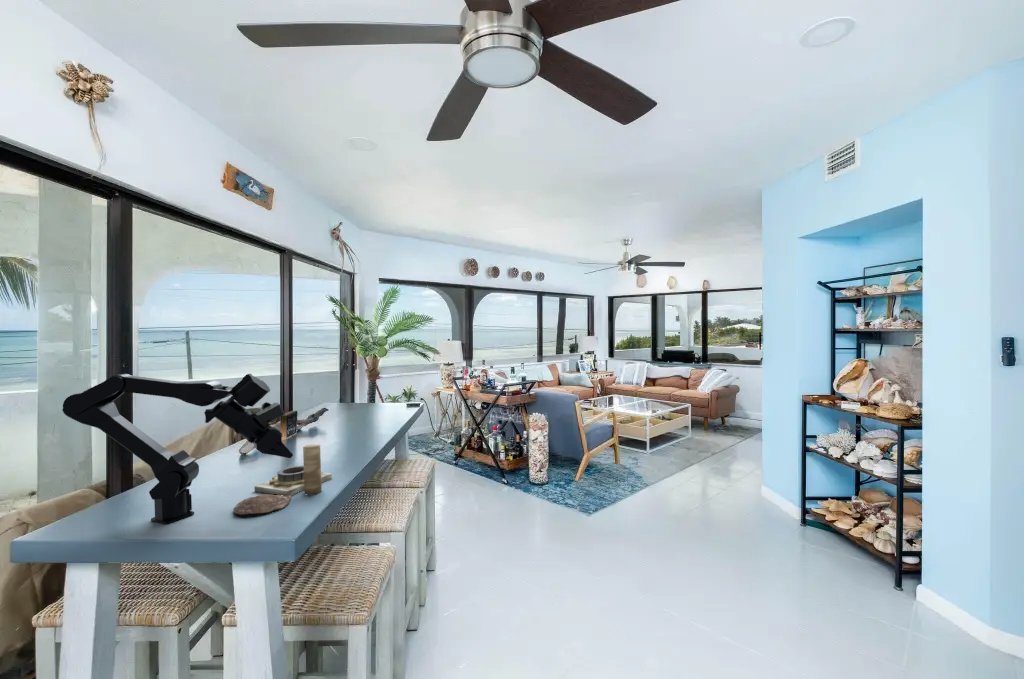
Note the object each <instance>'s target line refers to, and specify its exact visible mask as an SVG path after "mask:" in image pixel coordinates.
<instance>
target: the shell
mask: <svg viewBox="0 0 1024 679" xmlns="http://www.w3.org/2000/svg"><path fill="white" fill-rule="evenodd" d="M291 499H292V495H291V496H281V495H274V494H268V493H263V494H258V495H255V496H251V497H248V498H244V499H243V500H241V501H239V502H238V503H236V505H235V506H234V508H233V514H234V515H235V516H236V517H238V518H246V517H257V516H266V515H267V514H268V515H270V513H271V514H273V513H276V511H277V512H279V510H280V511H281V510H283V509H285V508H286V507H288V506H289V504H290V502H289V501H291ZM285 506H286V507H285ZM272 512H273V513H272ZM268 515H267V516H268Z"/></svg>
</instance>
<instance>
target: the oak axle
mask: <svg viewBox="0 0 1024 679" xmlns="http://www.w3.org/2000/svg"><path fill="white" fill-rule="evenodd" d="M302 452H303V453H302V454H303V456H302V457H303V466H304V490H303V492H304V495H305V494H308V495H307V496H311V495H310V494H314V495H317V493H318V494H320V493H321V492H322V491H323V490H322V483H321V472H322V463H321V462H322V461H321V460H322V459H321V445H320V444H314V443H313V444H307V445H305V446H303V447H302Z"/></svg>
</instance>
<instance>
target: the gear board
mask: <svg viewBox="0 0 1024 679" xmlns="http://www.w3.org/2000/svg"><path fill="white" fill-rule="evenodd" d="M276 473H277V475H274V476H273V477H271V479H270V480H267V481H264V482H262V483H258V484H256V485H254V486H253V487H254V492H256V491H258V493H262V492H264V493H263V494H268V493H270V494H271V495H274V494H277V495H280V496H281V495H283V496H290V495H291V496H293V495H295V494H298V493H300V492H302V490H303V491H304V465H295V466H289V467H285V468H282V469H280V470H278V471H277V472H276ZM332 477H333V476H332V472H331V473H330V472H322V471H321V482H322V483H324V482H326V480H327V481H330V480H332V479H333V478H332ZM331 478H332V479H331ZM299 491H300V492H299ZM297 492H298V493H297ZM294 493H295V494H294ZM292 494H293V495H292Z"/></svg>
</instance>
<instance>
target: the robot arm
mask: <svg viewBox="0 0 1024 679" xmlns="http://www.w3.org/2000/svg"><path fill="white" fill-rule="evenodd" d="M270 392H271V388H270V387H269V386H268V384H267V383H266V382H265V381H264V380H261V379H260V378H258V377H256V376H254V375H253V374H252V373H247V374H245V375H244V376H243V377H242V379H241V380H240V381H239V382H237V384H235V385H234V386H232V385H230V386H229V385H223V384H222V383H221V382H219V381H217V380H199V381H198V380H197V381H196V380H195V381H194V380H193V381H177V380H170V379H162V378H155V377H154V378H153V377H145V376H138V375H131V374H128V373H121V374H120V373H119V374H115V375H112V376H110V377H109V378H106V379H105V380H104V381H102V382H100V383H98V384H96V385H94V386H92V387H90V388H87V389H86V390H84V391H82V392H78V393H74V394H72V395H69V396H68V397H66V398H65V399H64V401H63V403H62V409H61V411H62V413H63V414H64V415H65V416H66V417H67V418H70V419H71V420H74V421H76V422H77V423H80V424H83V425H86V426H90V427H93V428H95V429H98V430H100V431H102V432H103V433H104V434H106V435H107V436H108V437H110V438H111V439H112V440H113V441H115V442H117V443H118V444H119V445H120V446H122V447H123V448H125V449H126V450H127V451H129V453H132V454H133V455H135V456H136V457H137V458H138V459H139V460H141V461H143V462H144V463H145V464H146V465H148V466H149V467H150V469H151V471H152V474H153V476H154V478H155V479H156V480H157V481H158V483H156V484H155V485H154V486H153V487H152V488H151V489H150V490H149V491H148V493H149V496H150V498H151V500H153V502H154V503H153V504H154V516H153V517H151V518H150V521H151V522H154V523H161V524H165V525H167V524H171V523H173V522H174V523H175V522H176V521H178V520H183V519H185V518H187V517H190V516H192V515H194V514H195V511H192V510H193V508H192V507H193V505H192V504H193V503H192V494H191V493H190V488H189V487H191V485H192V482H193V480H195V479H196V478H197V477H198V476H199V473H200V465H199V464H198V463H197V462H196V461H197V458H195V457H193V456H191V455H189V454H188V452H187V451H186V450H184V449H181V450H179V451H177V452H173V451H169V450H168V449H167V448H165V447H164V446H162V445H161V444H159V443H158V442H157V441H155V439H153V438H152V437H151V436H150V435H147V434H146V433H145V432H144V431H142V430H141V429H140V428H138V427H137V426H136V425H134V424H133V423H132V422H130V421H129V420H128V419H127V418H125V417H124V416H122V415H121V414H120V412H119V410H118V408H117V405H116V403H115V402H114V401H115V400H117V399H118V398H120V397H121V396H122V395H124V393H131V394H139V395H147V396H156V397H163V398H164V397H165V398H173V399H177V400H181V401H182V402H185V403H187V404H191V405H194V406H198V407H208V406H210V405H213V404H216V403H217V404H216V405H215V406H213V407H212V408H207V409H205V411H204V412H203V413H204V416H205V419H204V423H206V424H208V423H210V422H211V421H213V419H217V420H218V421H220V422H221V423H222V424H223V425H225V426H226V427H228V428H229V429H231V430H232V431H234V432H235V433H236V434H237V435H240V436H241V437H242V438H244V439H246V440H247V441H248V442H249V443H250V444H253V446H254V447H253V448H255V450H257V451H258V452H260V454H264V455H271V456H275V457H276V456H277V457H280V458H281V457H282V458H286V459H287V458H288V459H291V458H292V457H293V456H294V454H293V453H292V452H291V451H290V449H289V448H288V447H287V446H286V445H285V443H283V440H282V437H283V434H282V433H283V432H281V431H279V430H278V429H277V428H275V427H273V426H271V425H270V423H271V422H272V421H274V420H276V419H277V418H280V417H281V418H282V417H283V416H284V415H285V414H286V413H285V411H284V409H283V407H282V406H281V404H280V403H279V402H273V403H269V402H267V401H266V402H264V403H262V404H261V409H259V411H258V412H256V413H255V412H254V411H252V410H251V411H250V410H248V409H247V408H246V407H254V406H255V405H256V404H257V403H258V402H259V401H261V400H262V399H263V398H264V397H265V396H266V395H268V393H270ZM228 397H229V398H228ZM225 398H228V399H227V400H225V401H223V400H222V399H225Z"/></svg>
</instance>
